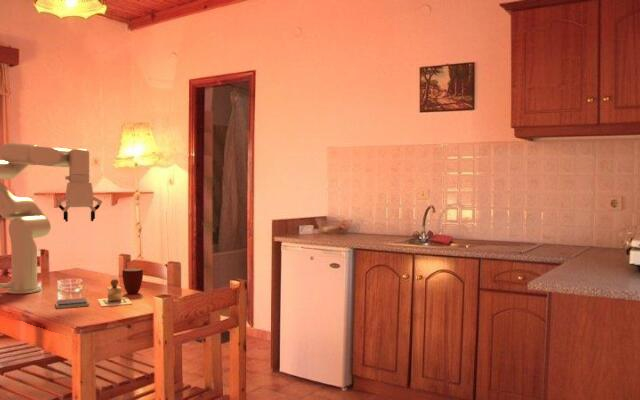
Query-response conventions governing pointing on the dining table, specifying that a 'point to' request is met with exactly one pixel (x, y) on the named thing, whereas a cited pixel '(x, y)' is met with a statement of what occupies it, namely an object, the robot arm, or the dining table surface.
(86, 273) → the dining table surface
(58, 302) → the ink pad
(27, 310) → the dining table surface
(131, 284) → the mug
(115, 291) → the stamp
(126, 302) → the card
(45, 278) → the dining table surface
